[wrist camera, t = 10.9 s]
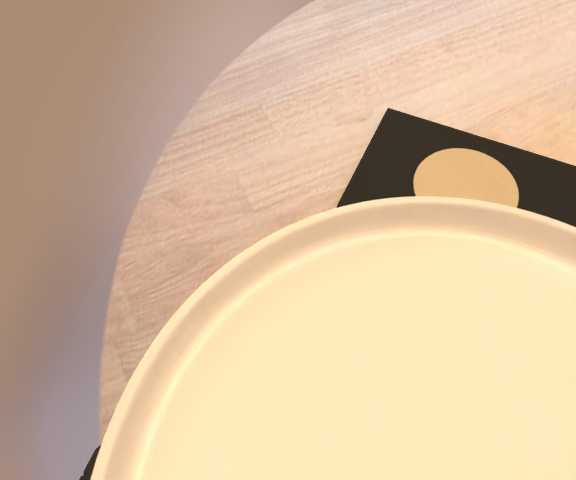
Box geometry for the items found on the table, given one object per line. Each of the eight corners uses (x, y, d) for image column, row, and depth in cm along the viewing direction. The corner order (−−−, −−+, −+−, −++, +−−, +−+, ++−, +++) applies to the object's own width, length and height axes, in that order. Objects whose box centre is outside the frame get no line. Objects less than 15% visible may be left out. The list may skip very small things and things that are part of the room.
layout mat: (336, 209, 36) (336, 205, 35) (387, 111, 41) (388, 106, 40) (561, 293, 32) (564, 290, 31) (587, 173, 37) (590, 169, 36)
